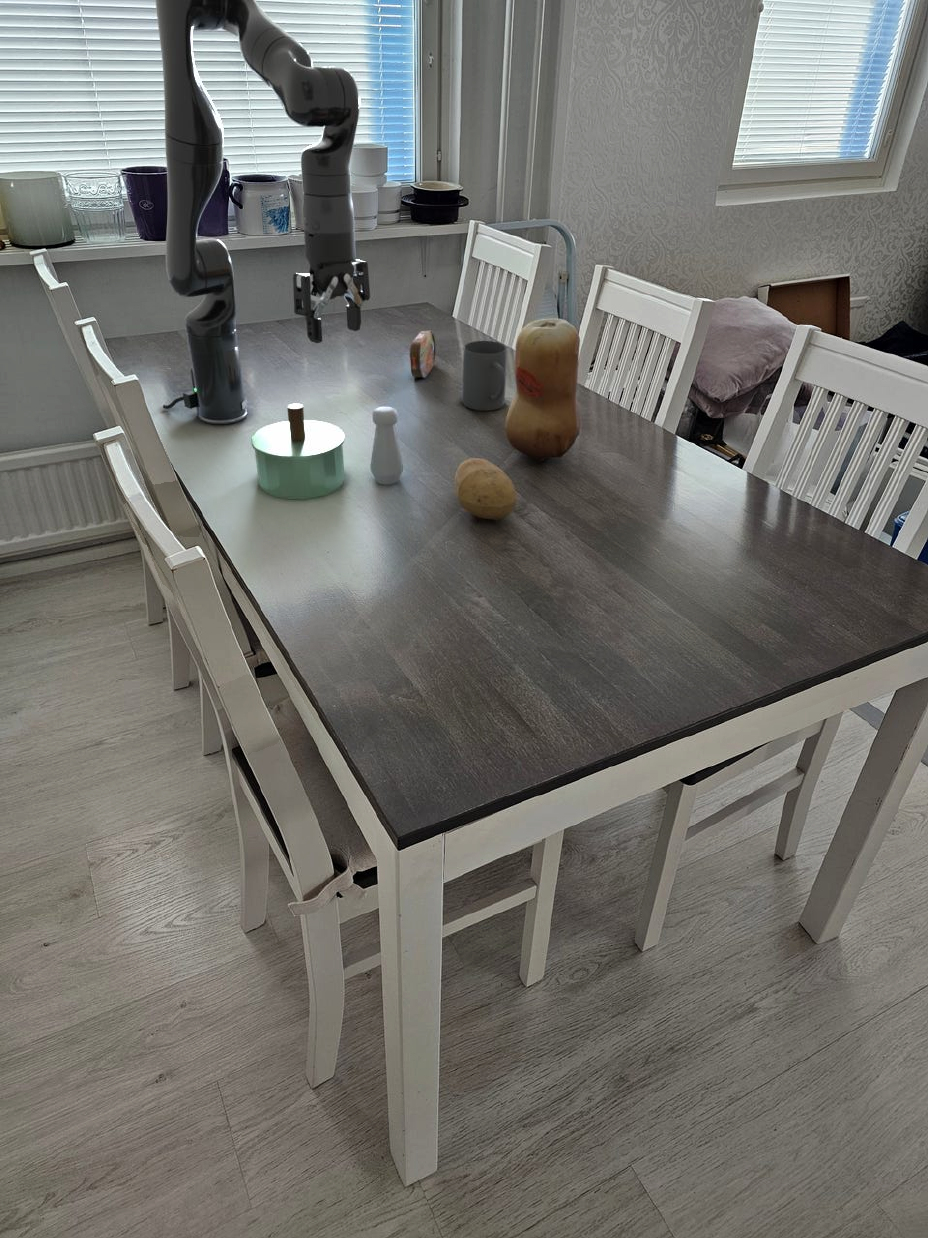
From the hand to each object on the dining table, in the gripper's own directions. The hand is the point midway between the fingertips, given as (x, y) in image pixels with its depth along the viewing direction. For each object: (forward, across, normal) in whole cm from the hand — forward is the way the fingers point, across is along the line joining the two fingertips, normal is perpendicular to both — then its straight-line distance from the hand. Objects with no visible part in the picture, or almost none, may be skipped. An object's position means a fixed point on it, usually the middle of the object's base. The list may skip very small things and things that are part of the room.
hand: (335, 335), depth 137 cm
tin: (+26, -53, -26) cm, 64 cm away
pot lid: (+18, +5, -5) cm, 19 cm away
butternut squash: (+25, -30, +22) cm, 45 cm away
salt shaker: (+25, -5, +6) cm, 26 cm away
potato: (+25, -5, +27) cm, 37 cm away
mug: (+25, -45, -1) cm, 51 cm away
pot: (+25, +5, -5) cm, 26 cm away
